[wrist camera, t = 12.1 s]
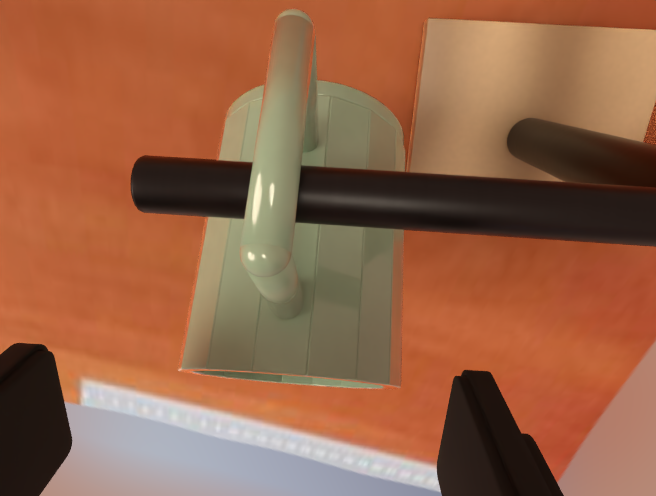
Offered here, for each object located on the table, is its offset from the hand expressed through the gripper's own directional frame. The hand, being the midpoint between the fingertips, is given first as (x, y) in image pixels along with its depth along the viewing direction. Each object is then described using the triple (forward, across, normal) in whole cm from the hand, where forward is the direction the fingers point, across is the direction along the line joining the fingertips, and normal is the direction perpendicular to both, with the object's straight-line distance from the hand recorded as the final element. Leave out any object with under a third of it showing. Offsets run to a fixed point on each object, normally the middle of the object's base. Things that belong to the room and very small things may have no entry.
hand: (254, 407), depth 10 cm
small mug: (+8, -1, -6) cm, 10 cm away
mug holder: (+15, -7, -5) cm, 18 cm away
